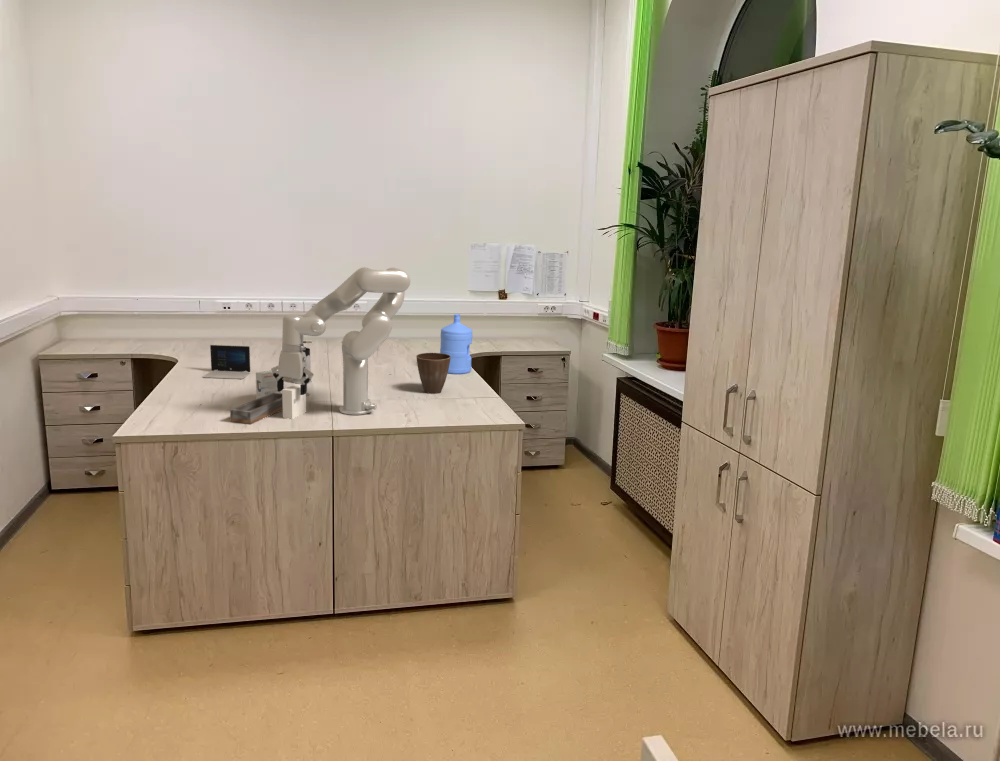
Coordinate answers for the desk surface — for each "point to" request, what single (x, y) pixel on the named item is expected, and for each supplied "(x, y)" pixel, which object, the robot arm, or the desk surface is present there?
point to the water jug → (457, 346)
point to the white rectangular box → (293, 402)
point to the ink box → (265, 384)
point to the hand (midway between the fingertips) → (291, 392)
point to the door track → (257, 409)
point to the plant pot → (433, 371)
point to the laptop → (229, 362)
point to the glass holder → (307, 366)
